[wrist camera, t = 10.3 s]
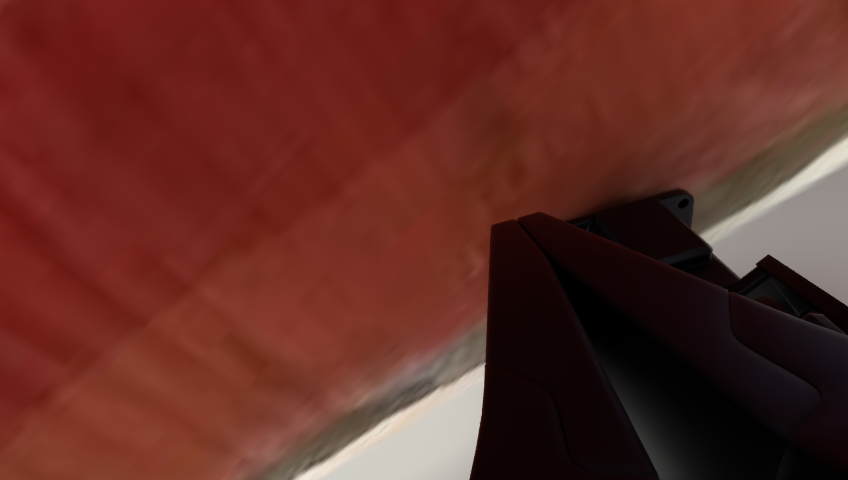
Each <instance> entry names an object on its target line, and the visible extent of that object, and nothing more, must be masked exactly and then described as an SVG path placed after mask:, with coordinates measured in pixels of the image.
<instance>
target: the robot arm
mask: <svg viewBox="0 0 848 480" xmlns="http://www.w3.org/2000/svg"><path fill="white" fill-rule="evenodd" d="M682 199H683V200H682ZM680 200H682V202H681V203H679V202H680ZM678 203H679V204H678ZM693 203H694V199H693V196H692V195H691V194H690V193H688V192H687V191H686V190H683V189H682V190H677V191H673V192H669V193H666V194H662V195H659V196H655V197H650V198H647V199H643V200H640V201H636V202H632V203H629V204H625V205H622V206H618V207H615V208H611V209H608V210H604V211H601V212H598V213H595V214H591V215H588V216H584V217H581V218H577V219H574V220H570V221H566V222H564V221H562V220H559V219H557V218H555V217H552V216H550V215H547V214H545V213H542V212H537V213H533V214H530V215H526V216H523V217H519V218H518V219H517V221H516V220H508V221H504V222H501V223H497V224H494V225H492V226H491V233H490V259H489V284H488V310H487V336H486V365H485V379H484V394H483V395H484V396H483V406H482V416H481V422H480V428H479V434H478V440H477V446H476V451H475V456H474V461H473V465H472V470H471V475H470V479H469V480H848V306H846V305H845V304H843V303H842V302H840V301H839V300H837V299H836V298H834V297H833V296H831V295H830V294H828V293H827V292H825V291H824V290H822V289H820V288H819V287H817V286H816V285H814V284H813V283H811V282H810V281H808V280H807V279H805V278H804V277H802V276H801V275H799V274H797V273H796V272H795V271H793V270H792V269H790V268H789V267H787V266H785V265H784V264H782V263H780V262H779V261H778V260H776V259H775V258H773V257H772V256H770V255H767V256H766V257H764V258H763V259H762V260H760V261H759V262H758V263H756V266H757V267H755V268H754V269H753V270H751V271H750V272H749V273H748V274H746V275H745V276H743V277H742V278H740V277H739V276H737V275H736V274H735V273H734V272H733V271H732V270H731V269H730V268H729V267H727V266H726V265H725V264H724V263H723V262H722V261H721V260H720V259H718V258H717V257H716V256H715V255H714V254H713V253H712V252H713V249H712V247H711V246H710V245H709V244H708V243H706V242H705V241H704V240H703V239H702V238H701V237H700V236H698V235H697V234H696V233H695V232H694V231H693V230H692V229H691V223H692V213H693Z"/></svg>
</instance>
